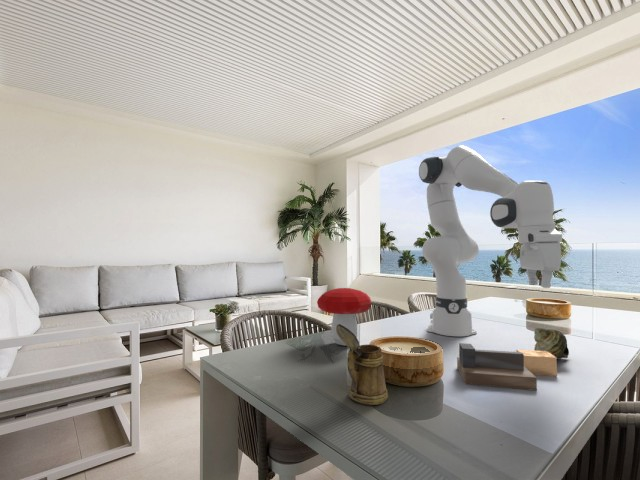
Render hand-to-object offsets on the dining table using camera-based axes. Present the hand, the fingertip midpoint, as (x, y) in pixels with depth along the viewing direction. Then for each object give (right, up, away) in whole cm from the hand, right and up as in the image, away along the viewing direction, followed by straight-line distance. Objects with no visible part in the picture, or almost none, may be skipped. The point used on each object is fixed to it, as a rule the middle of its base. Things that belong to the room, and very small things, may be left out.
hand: (539, 286), depth 94 cm
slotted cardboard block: (-1, -24, 0) cm, 24 cm away
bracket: (-16, -24, -5) cm, 29 cm away
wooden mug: (-52, -24, -18) cm, 60 cm away
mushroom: (-53, -25, +26) cm, 64 cm away
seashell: (+10, -24, +9) cm, 27 cm away
